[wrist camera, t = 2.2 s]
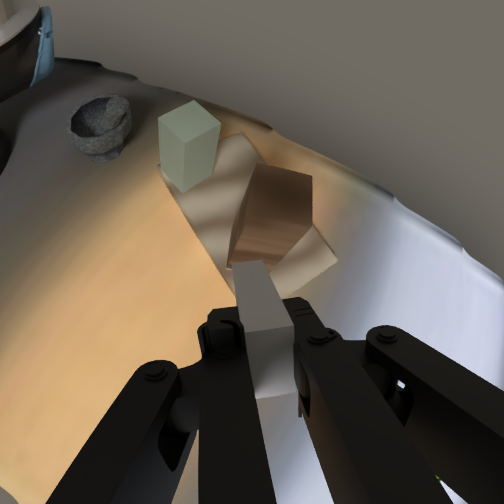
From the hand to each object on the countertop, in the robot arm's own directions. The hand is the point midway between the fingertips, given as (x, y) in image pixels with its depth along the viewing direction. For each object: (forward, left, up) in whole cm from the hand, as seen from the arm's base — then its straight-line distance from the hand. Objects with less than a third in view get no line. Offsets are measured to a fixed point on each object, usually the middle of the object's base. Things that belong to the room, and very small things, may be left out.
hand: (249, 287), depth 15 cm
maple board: (-10, +11, -21) cm, 26 cm away
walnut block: (-5, +8, -19) cm, 22 cm away
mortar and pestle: (-30, -1, -21) cm, 37 cm away
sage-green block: (-19, +7, -19) cm, 28 cm away
